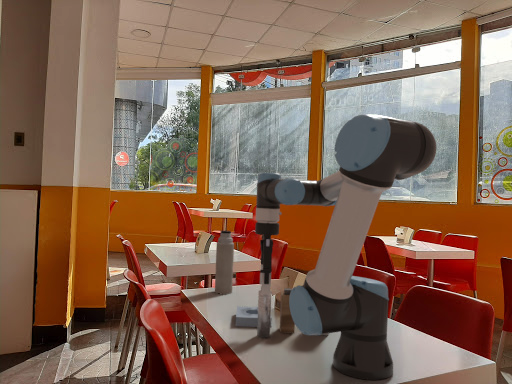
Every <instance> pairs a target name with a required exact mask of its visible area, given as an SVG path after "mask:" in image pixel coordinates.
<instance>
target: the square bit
mask: <svg viewBox="0 0 512 384" xmlns="http://www.w3.org/2000/svg"><path fill="white" fill-rule="evenodd" d="M292 289H293V288H285V287H284V292H280V309H279V332H280V334H281V333H283V334H295V328H296V325H295V323H294V321H293V319H292V316H291V312H290V306H289V297H290V293H291V290H292Z"/></svg>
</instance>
